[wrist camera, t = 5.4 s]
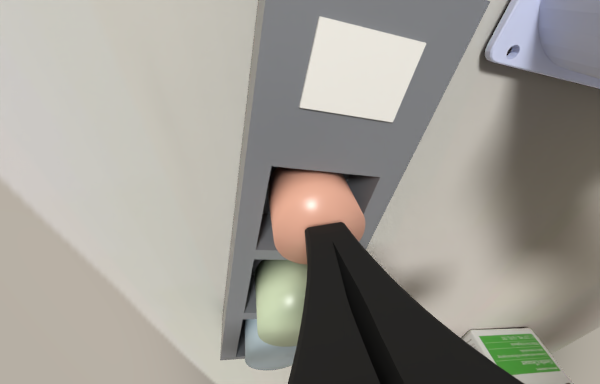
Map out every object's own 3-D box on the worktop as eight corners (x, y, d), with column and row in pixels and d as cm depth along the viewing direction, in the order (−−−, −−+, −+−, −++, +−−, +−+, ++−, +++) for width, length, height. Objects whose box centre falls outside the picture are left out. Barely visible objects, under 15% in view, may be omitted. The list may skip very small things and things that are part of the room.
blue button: (304, 290, 18) (313, 338, 16) (292, 321, 20) (300, 367, 17) (248, 291, 17) (249, 342, 15) (241, 323, 19) (242, 372, 17)
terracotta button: (353, 158, 12) (379, 200, 10) (331, 217, 14) (348, 265, 12) (274, 149, 12) (283, 193, 9) (262, 214, 14) (266, 264, 11)
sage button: (328, 249, 14) (345, 302, 12) (312, 291, 16) (324, 344, 14) (259, 247, 14) (263, 305, 11) (250, 292, 16) (252, 348, 13)
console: (432, -5, 10) (492, 1, 8) (305, 311, 21) (313, 354, 19) (264, -56, 9) (274, -68, 6) (222, 314, 20) (220, 361, 17)
